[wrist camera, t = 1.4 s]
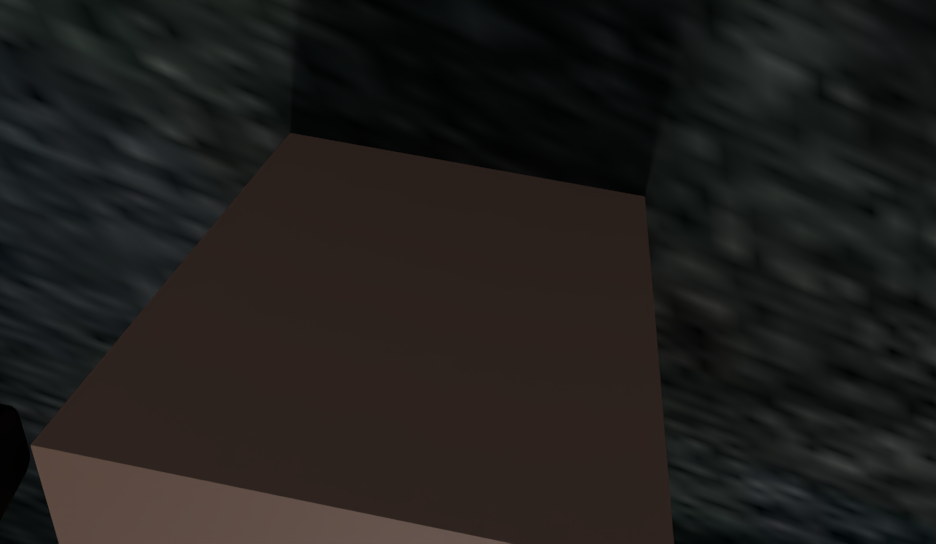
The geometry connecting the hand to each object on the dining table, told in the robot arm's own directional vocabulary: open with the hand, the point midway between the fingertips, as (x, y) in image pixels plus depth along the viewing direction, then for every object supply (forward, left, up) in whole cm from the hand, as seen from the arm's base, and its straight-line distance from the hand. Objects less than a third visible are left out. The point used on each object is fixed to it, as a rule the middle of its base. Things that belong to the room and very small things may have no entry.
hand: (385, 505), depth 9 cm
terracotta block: (0, 0, -4) cm, 4 cm away
